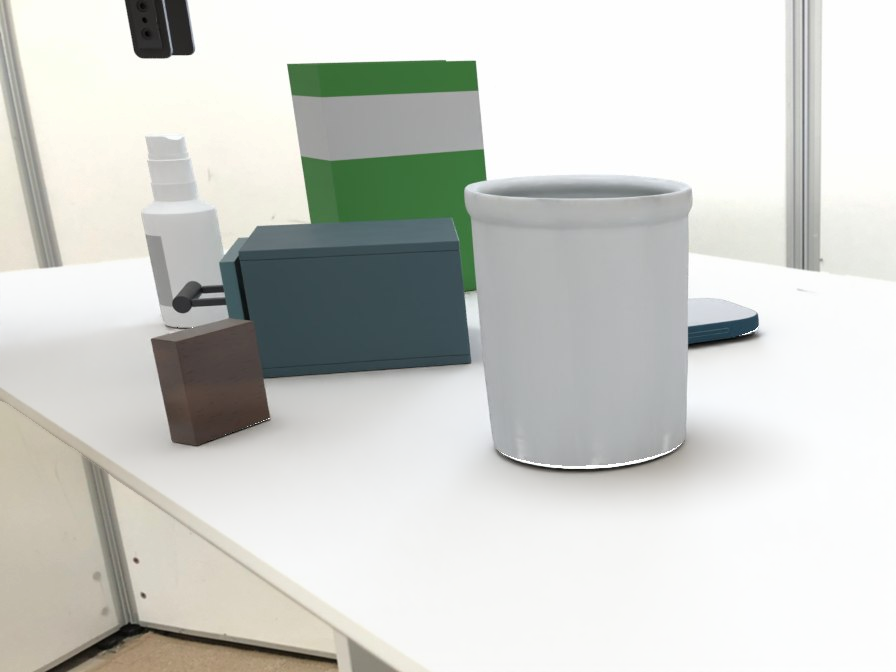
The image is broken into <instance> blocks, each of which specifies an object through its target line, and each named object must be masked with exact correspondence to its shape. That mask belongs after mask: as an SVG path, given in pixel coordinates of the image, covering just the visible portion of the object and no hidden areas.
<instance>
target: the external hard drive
mask: <svg viewBox="0 0 896 672" xmlns="http://www.w3.org/2000/svg"><path fill="white" fill-rule="evenodd" d="M759 325H760V319H759V313H758V312H757V311H756V310H754V309H751V308H750V307H749V308H748V307H746V306H743V305H740V304H738V303H734V302H732V301H729V300H725V299H721V298H714V297H692V298H688V345H690V344H697V343H703V342H711V341H718V340H724V339H731V337H732V338H736V337H735V336H739V335H742V334H745V333H748V332H750V331H753V330H755V329H756V328H757V327H758V326H759ZM758 328H759V327H758ZM739 337H740V336H739Z"/></svg>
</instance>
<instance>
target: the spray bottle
mask: <svg viewBox="0 0 896 672" xmlns="http://www.w3.org/2000/svg"><path fill="white" fill-rule="evenodd" d="M144 138H145V143H146V147H147V158H148V159H147V160H146V161H147V167H148V171H149V177H150V181H151V182H150V186H151V193H152V196H153V201H152V202H151V203H149V204H148V205H147V206H145V207H144V208H143V209H142V210H141V211H140V216H141V220H142V226H143V230H144V235H145V240H146V241H145V242H146V245H147V251H148V256H149V260H150V265H151V270H152V275H153V280H154V284H155V285H154V286H155V289H156V295H157V301H158V304H159V305H158V306H159V309H160V315H161V320H162V322H163V324H164V325H165V326H167V327H170V328H171V327H172V328H177V327H178V328H179V329H189V328H192V327H197V326H201V325H205V324H208V323H212V322H216V321H220V320H224V319H228V318H229V316H228V310H227V305H221V306H203V307H192V308H191V309H190V311H189V312H187V313H178V312H177V311H175V310H174V308H173V306H172V301H173V299H174V298H175V297H176V295H177V294H178V293H179V292H180V291H181V290H182V288H183V287H184V286H185V285H186V284H187V283H188V282H190V281H196V282H198V283H199V284H201V286H211V285H223V283H222V277H221V272H220V266H219V262H220V260H221V259H222V258H223V257H224V255H225V250H224V245H223V239H222V232H221V227H220V222H219V215H218V210H217V208H216V207H215V205H213V204H211V203H209V202H208V201H205V200H203V199H201V198H200V196H199V190H198V185H197V181H196V179H195V178H196V177H195V174H194V168H193V163H192V158H191V157H190V155H189V152H188V150H187V144H186V139H185V138H186V137H185V134H184V133H153V134H146V135H144ZM219 297H225V294H224V292H223V293H205V294H203V293H202V295H201V296H200V297H199V299H201V298H219Z"/></svg>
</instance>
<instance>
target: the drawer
mask: <svg viewBox="0 0 896 672" xmlns="http://www.w3.org/2000/svg"><path fill="white" fill-rule="evenodd" d="M248 238H249V236H248V237H237V238H236V240H235V241H234V243H233V244H232V245H231V246H230V247H229V249H228V250H227V252H226V253H224V257H223V258H222V259H221V260H220V262H219V266H220V272H221V277H222V283H223V285H211V286H201V284H199V283H198V282H196V281H190V282H188V283H187V284H186V285H185V286H184V287H183V288H182V290H181V291H180V292H179V293H178V294H177V295H176V297H175V298H174V299H173V301H172V306H173V308H174V310H175V311H177V312H178V313H187V312H189V311H190V309H191V308H192V307H203V306H221V305H227V310H228V316H229V318H231V319H240V320H248V321H250V317H249V311H248V305H247V299H246V294H245V288H244V282H243V276H242V271H241V265H240V259H239V253H238V251H239V250H240V248H241V247H242V246H243V244H244V243H245V242H246V240H247V239H248ZM223 292H224V294H225V297H219V298H201V299H199V297H200V296H201V295H202V293H203V294H205V293H223Z"/></svg>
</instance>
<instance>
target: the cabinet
mask: <svg viewBox="0 0 896 672" xmlns="http://www.w3.org/2000/svg"><path fill="white" fill-rule="evenodd" d="M248 237H249V238H248V239H247V240H246V242H245V243H244V244H243V246H242V247H241V248H240V250H239V251H238V253H239V259H240V265H241V271H242V276H243V282H244V288H245V294H246V299H247V305H248V311H249V317H250V321H254V326H255V332H256V338H257V344H258V350H259V355H260V361H261V367H262V373H263V379H267V378H279V377H280V378H281V377H294V376H295V377H296V376H309V375H311V376H312V375H323V374H336V373H338V374H339V373H348V372H349V373H351V372H353V373H354V372H365V371H379V370H393V369H394V370H395V369H408V368H409V369H410V368H421V367H422V368H423V367H436V366H437V367H438V366H449V365H463V364H471V363H472V356H471V355H472V354H471V344H470V336H469V325H468V315H467V314H468V313H467V305H466V297H465V291H464V285H463V275H462V265H461V255H460V245H459V239H458V236H457V233H456V229H455V226H454V223H453V220H452V218H451V217H450V218H427V219H404V220H382V221H359V222H336V223H313V224H311V223H291V224H270V225H269V224H268V225H267V224H266V225H256V227H255V228H254V229H253V231H252V232H251V233H250V235H249V236H248Z"/></svg>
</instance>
